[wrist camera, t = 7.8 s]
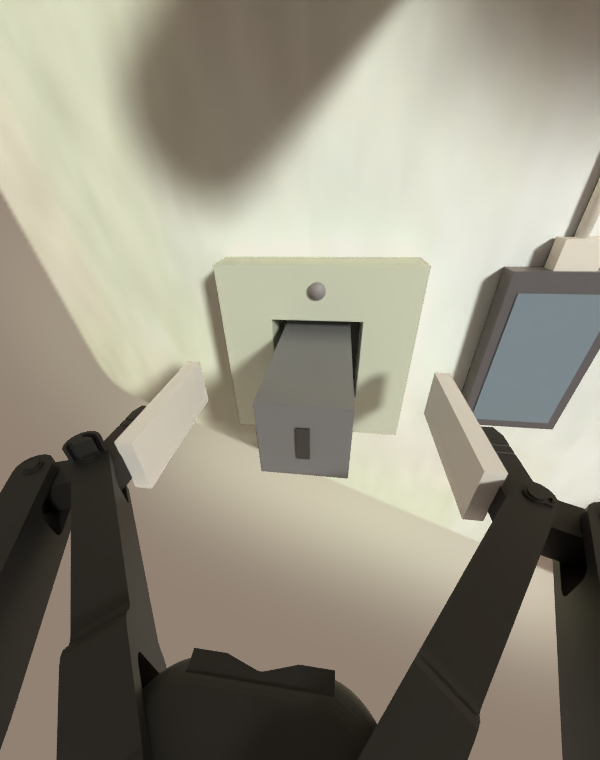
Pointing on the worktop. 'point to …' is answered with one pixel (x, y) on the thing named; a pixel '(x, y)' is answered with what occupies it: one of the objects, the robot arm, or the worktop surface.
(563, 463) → the worktop surface
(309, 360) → the block
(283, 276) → the outlet plate
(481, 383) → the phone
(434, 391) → the robot arm
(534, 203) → the worktop surface
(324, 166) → the worktop surface
